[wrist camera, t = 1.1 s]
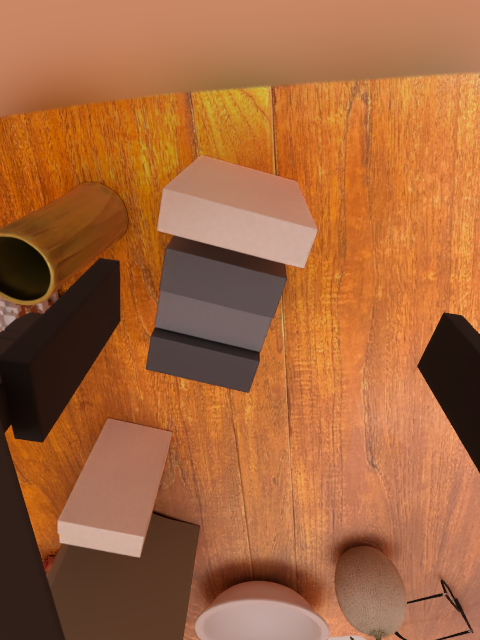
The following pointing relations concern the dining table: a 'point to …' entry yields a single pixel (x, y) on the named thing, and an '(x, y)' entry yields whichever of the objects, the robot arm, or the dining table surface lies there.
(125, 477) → the white books
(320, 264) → the dining table surface
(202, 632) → the soup bowl
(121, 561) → the book
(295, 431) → the dining table surface
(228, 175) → the white book
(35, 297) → the vase
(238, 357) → the grey books
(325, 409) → the dining table surface
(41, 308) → the pale rounded piece
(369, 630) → the fruit
